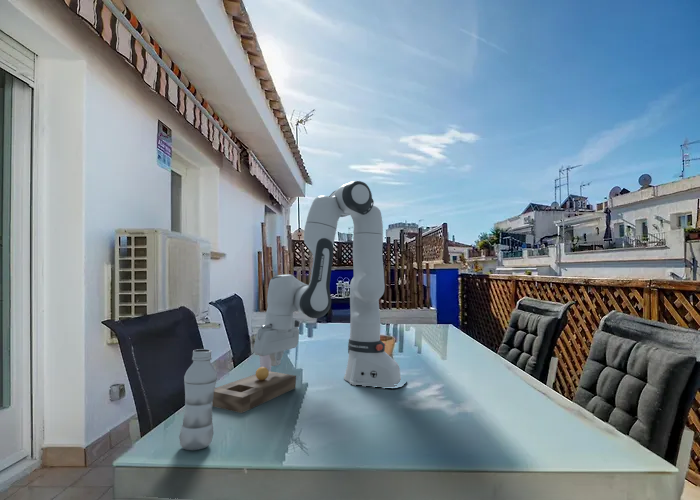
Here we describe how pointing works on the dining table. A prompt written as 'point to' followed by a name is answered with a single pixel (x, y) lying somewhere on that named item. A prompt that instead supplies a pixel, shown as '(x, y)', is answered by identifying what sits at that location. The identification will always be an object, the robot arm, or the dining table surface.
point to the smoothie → (265, 362)
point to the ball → (262, 373)
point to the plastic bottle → (198, 402)
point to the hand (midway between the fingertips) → (275, 365)
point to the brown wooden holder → (252, 391)
